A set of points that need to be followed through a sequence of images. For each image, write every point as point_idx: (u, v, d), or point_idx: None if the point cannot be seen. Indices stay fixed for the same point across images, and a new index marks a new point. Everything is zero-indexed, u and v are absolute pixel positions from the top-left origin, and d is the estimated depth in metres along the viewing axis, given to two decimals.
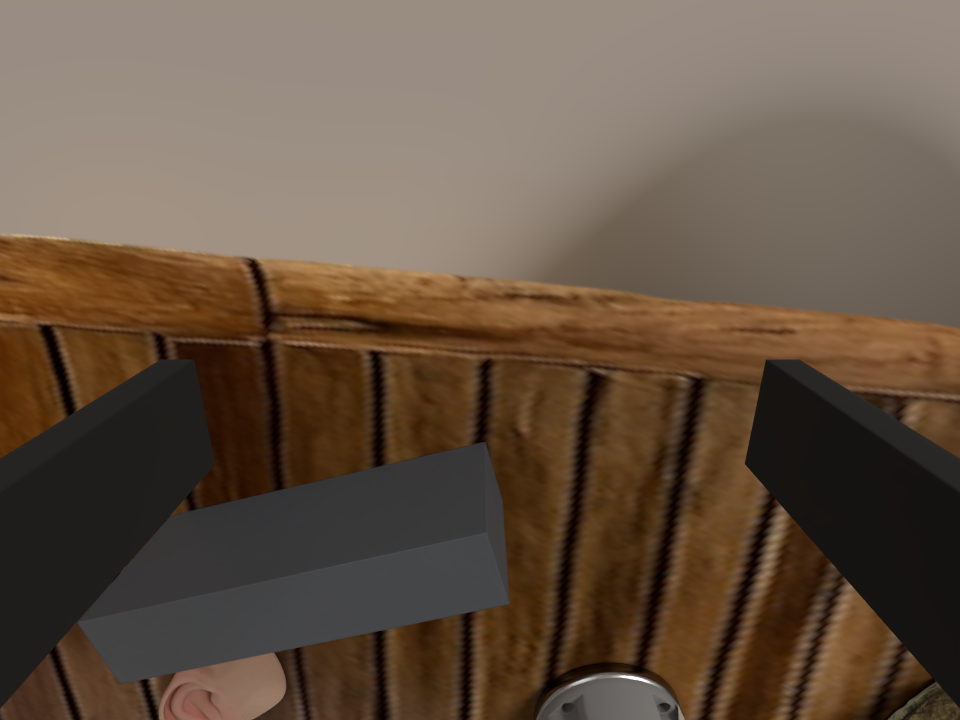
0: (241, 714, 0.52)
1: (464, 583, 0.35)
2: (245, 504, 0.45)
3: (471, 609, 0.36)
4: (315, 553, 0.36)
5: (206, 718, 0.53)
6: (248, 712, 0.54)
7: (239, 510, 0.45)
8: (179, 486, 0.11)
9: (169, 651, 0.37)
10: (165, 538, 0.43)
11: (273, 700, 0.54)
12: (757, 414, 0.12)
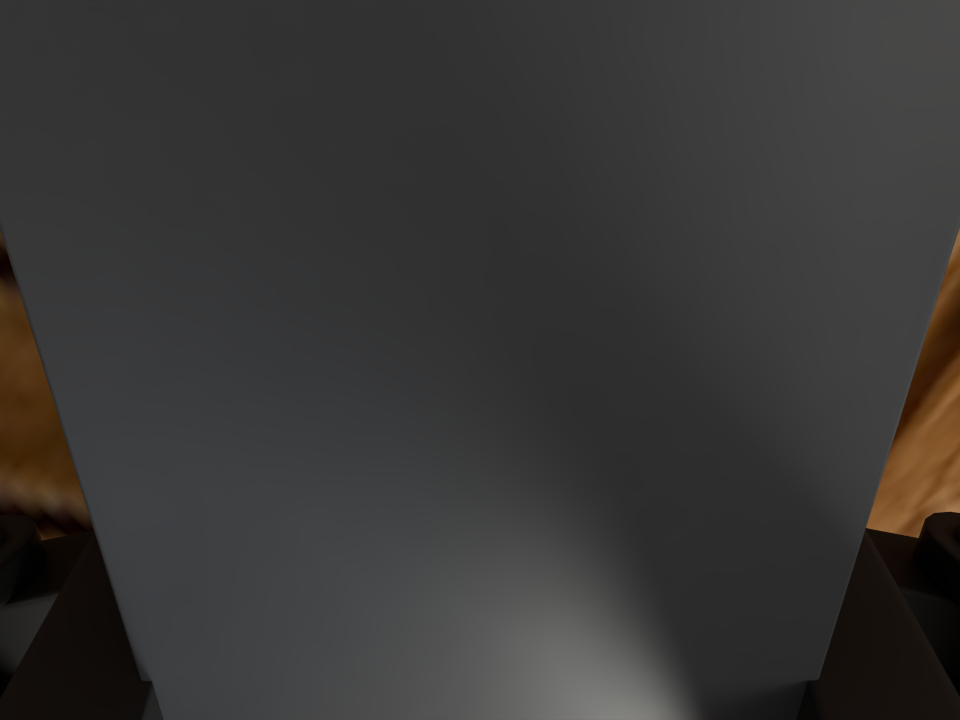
0: None
1: None
2: None
3: None
4: None
5: None
6: None
7: None
8: None
9: None
10: None
11: None
12: None
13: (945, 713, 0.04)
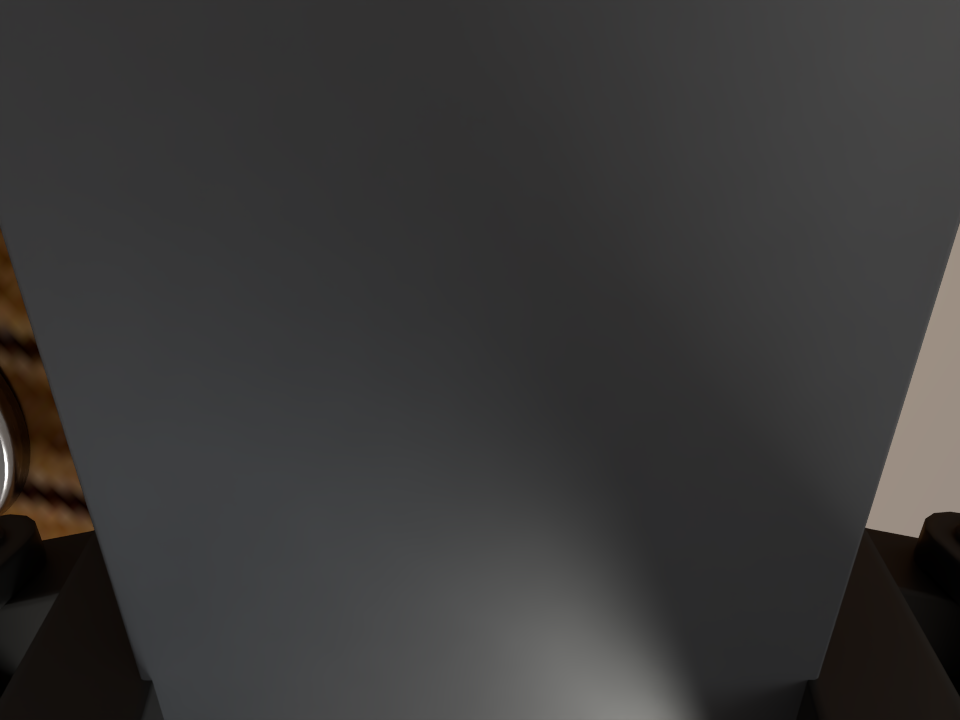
0: None
1: None
2: None
3: None
4: None
5: None
6: None
7: None
8: None
9: None
10: None
11: None
12: None
13: (945, 713, 0.04)
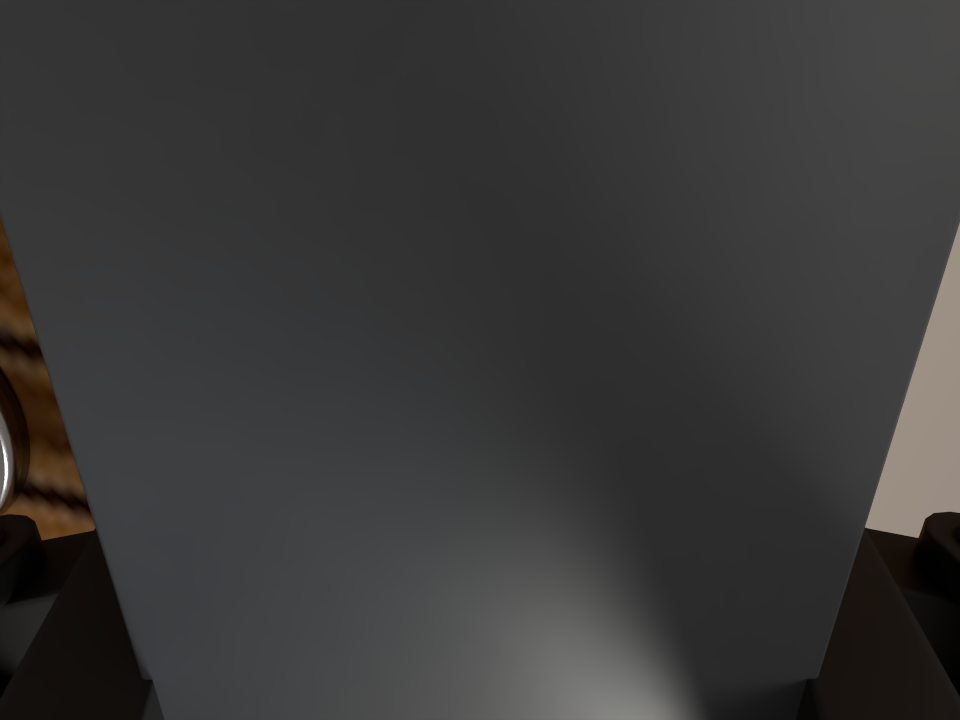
0: None
1: None
2: None
3: None
4: None
5: None
6: None
7: None
8: None
9: None
10: None
11: None
12: None
13: (945, 713, 0.04)
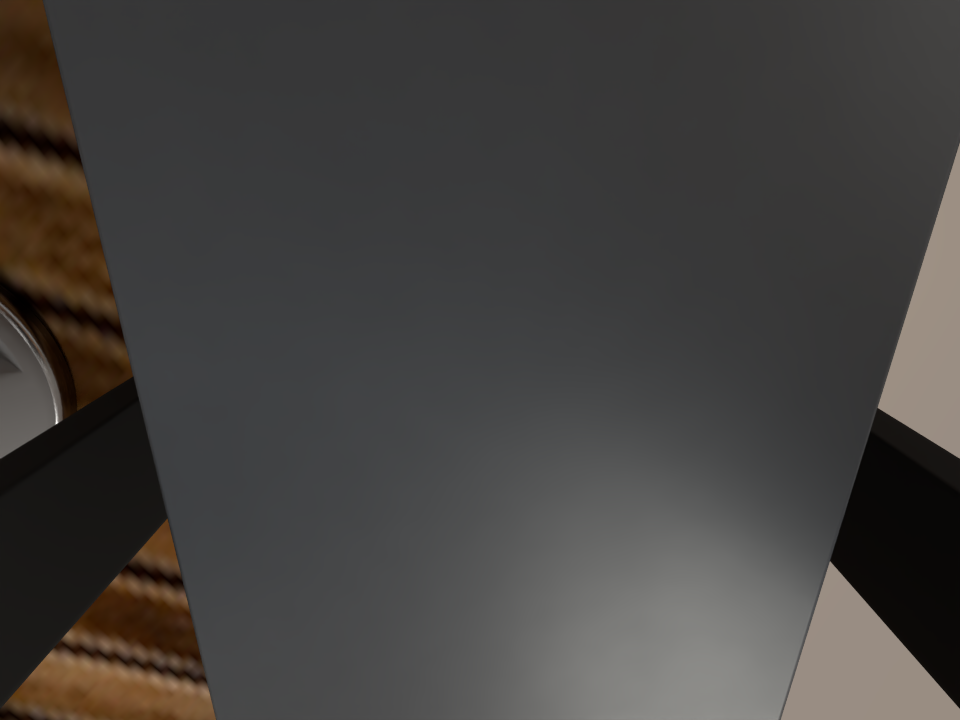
0: None
1: (450, 711, 0.06)
2: None
3: (230, 696, 0.06)
4: None
5: None
6: None
7: None
8: None
9: None
10: None
11: None
12: None
13: None
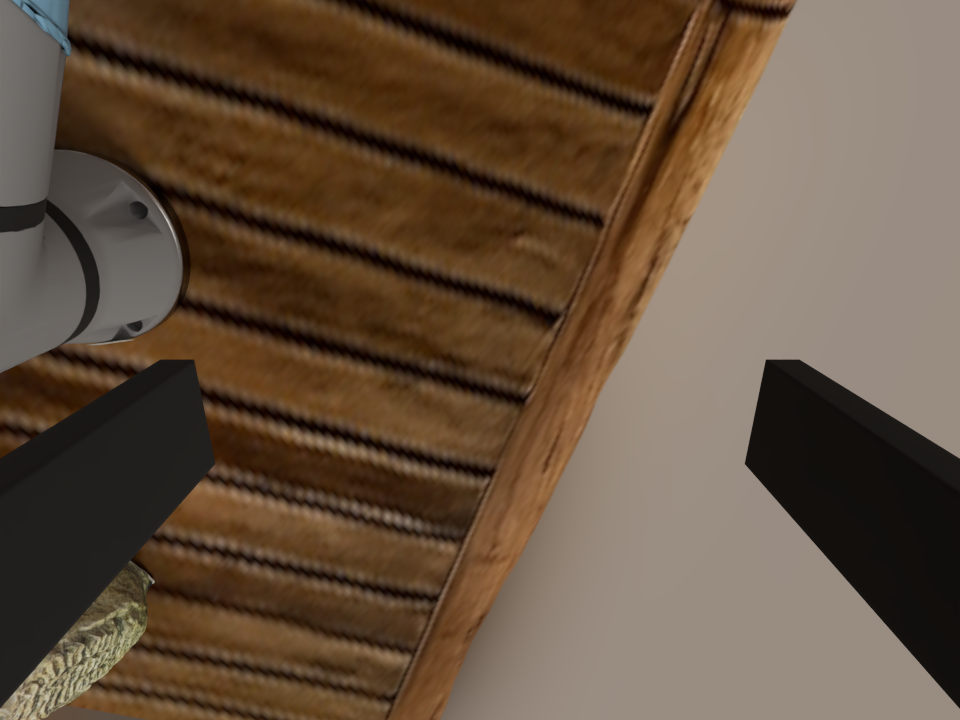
0: None
1: None
2: None
3: None
4: None
5: None
6: None
7: None
8: (179, 485, 0.11)
9: None
10: None
11: None
12: (757, 414, 0.12)
13: None
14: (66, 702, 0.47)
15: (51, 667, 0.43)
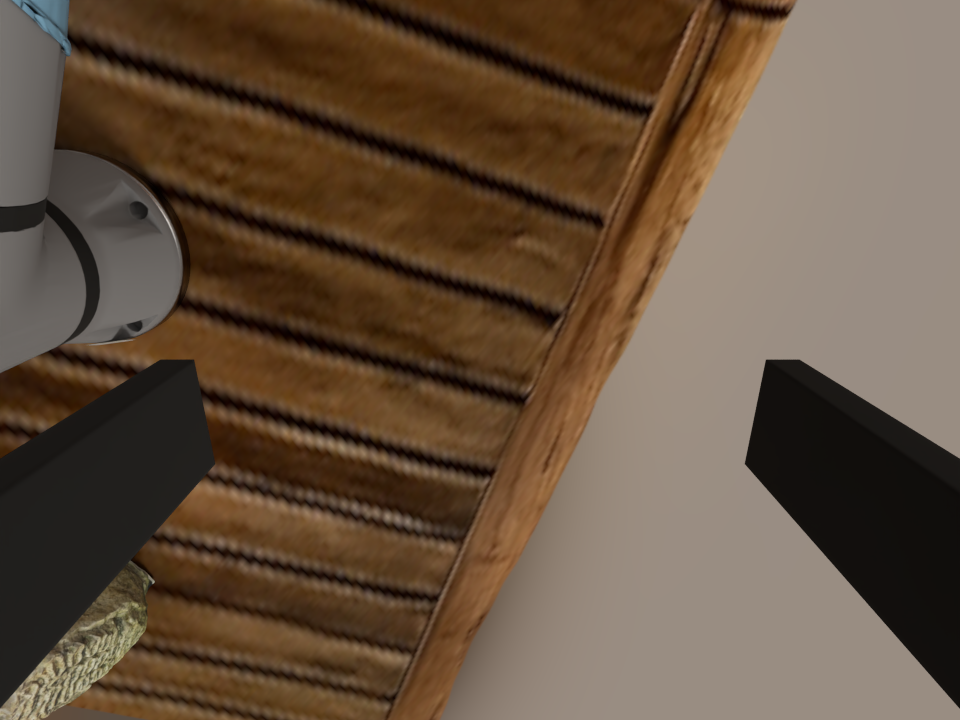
0: None
1: None
2: None
3: None
4: None
5: None
6: None
7: None
8: (179, 485, 0.11)
9: None
10: None
11: None
12: (757, 414, 0.12)
13: None
14: (66, 702, 0.47)
15: (51, 667, 0.43)
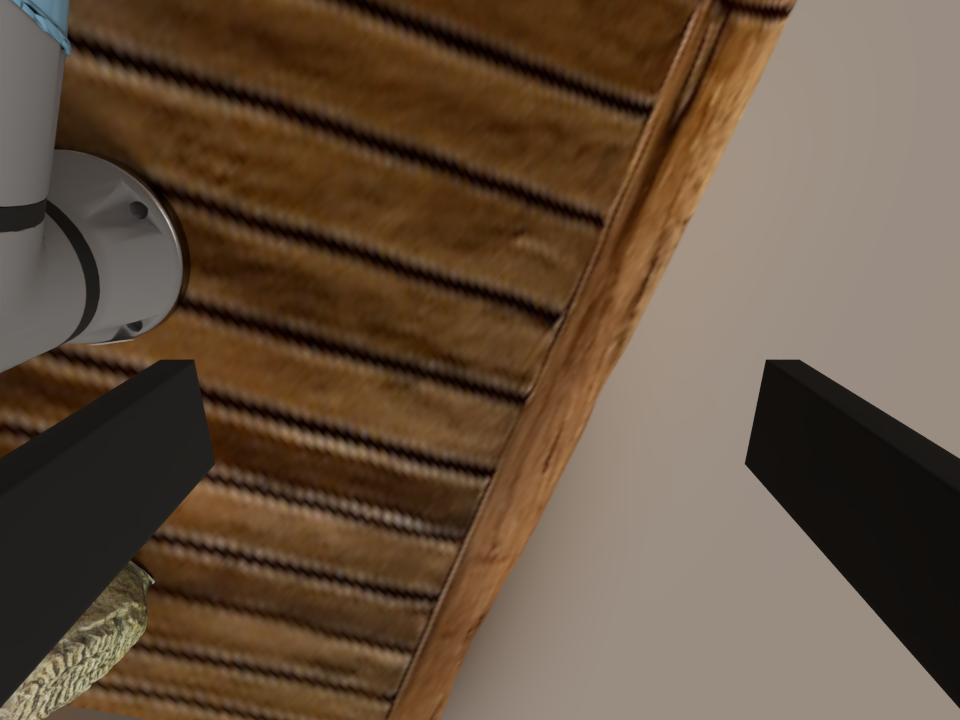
0: None
1: None
2: None
3: None
4: None
5: None
6: None
7: None
8: (179, 485, 0.11)
9: None
10: None
11: None
12: (757, 414, 0.12)
13: None
14: (66, 702, 0.47)
15: (51, 667, 0.43)
